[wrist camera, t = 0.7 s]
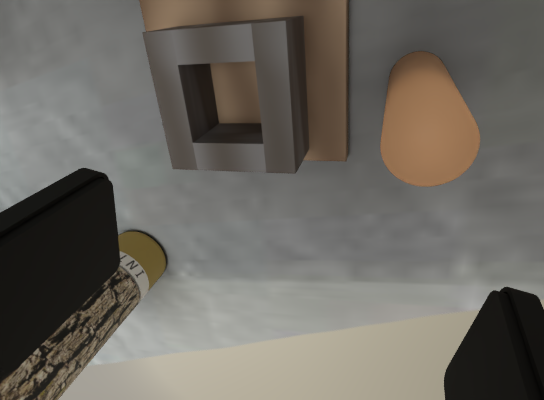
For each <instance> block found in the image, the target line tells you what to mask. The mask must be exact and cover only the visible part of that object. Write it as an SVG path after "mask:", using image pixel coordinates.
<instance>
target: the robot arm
mask: <svg viewBox="0 0 544 400" xmlns="http://www.w3.org/2000/svg"><path fill="white" fill-rule="evenodd" d="M119 265H120V250H119V241H118V231H117V221H116V212H115V202H114V193H113V185H112V183H111V181H109V179H108V177H107V175H106V174H104V173H101V172H98V171H94V170H91V169H87V168H81V169H78V170H77V171H75V172H73V173H71V174H69V175H68V176H66V177H64V178H62V179H60V180H59V181H57V182H55V183H53V184H51V185H50V186H48V187H46V188H44V189H42V190H40V191H39V192H37V193H35V194H33V195H31V196H30V197H28V198H26V199H24V200H22V201H21V202H19V203H17V204H15V205H13V206H12V207H10V208H8V209H6V210H4V211H3V212H1V213H0V379H1V378H2V377H3V376H4V375H5V374H6V373H10V372H12V371H14V370H16V369H17V368H18V367H19V366H20V365H21V364H22V363H23V362H24V361H25V360H26V359H27V358H28V357H30V356H31V355H32V354H33V353H34V352H35V351H36V350H37V349H38V348H39V347H40V346H41V345H42V344H43V343H44V342H45V341H46V340H47V339H48V338H49V337H50V336H51V335H52V334H53V333H54V332H55V331H56V330H57V329H58V328H59V327H60V326H61V325H62V324H63V323H64V322H65V321H66V320H67V319H68V318H70V317H71V316H72V315H73V314H74V313H75V312H76V311H77V310H78V309H79V308H80V307H81V306H82V305H83V304H84V303H85V302H86V301H87V300H88V299H89V298H90V297H91V296H92V295H93V294H94V293H95V292H96V291H97V290H98V289H99V288H100V287H101V286H102V285H103V284H104V283H105V282H106V281H107V280H109V279H110V278H111V277H112V276H113V275H114V274H115V272H116V271H117V270H118V268H119ZM444 390H445V400H544V309H543V307H542V304H541V302H540V300H539V298H538V296H536V295H534V294H531V293H527V292H524V291H520V290H517V289H513V288H509V287H504V288H503V289H501V290H500V292H499V291H492V292H491V293H490V294H489V296H488V297H487V299H486V301H485V303H484V304H483V306H482V308H481V310H480V311H479V313H478V315H477V317H476V319H475V320H474V322H473V324H472V325H471V327H470V329H469V330H468V332H467V334H466V336H465V337H464V339H463V341H462V343H461V344H460V346H459V348H458V350H457V352H456V353H455V355H454V357H453V358H452V360H451V362H450V364H449V365H448V367H447V369H446V372H445V377H444Z"/></svg>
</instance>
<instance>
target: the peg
mask: <svg viewBox="0 0 544 400" xmlns="http://www.w3.org/2000/svg"><path fill="white" fill-rule="evenodd" d="M479 145H480V133H479V129H478V126H477V124H476V121H475V120H474V118H473V116H472V114H471V112H470V111H469V109H468V107H467V105H466V103H465V102H464V100H463V98H462V96H461V95H460V93H459V91H458V89H457V87H456V86H455V84H454V82H453V80H452V78H451V77H450V75H449V73H448V71H447V69H446V68H445V66H444V64H443V62H442V61H441V60H440V59H439V58H438V57H437V56H436V55H434V54H432V53H429V52H424V51H418V52H413V53H410V54H407V55H405V56H404V57H402V58H401V59H400V60H399V61H398V62H397V63H396V64H395V65H394V67H393V68H392V70H391V73H390V76H389V83H388V90H387V98H386V105H385V113H384V120H383V128H382V135H381V144H380V148H381V155H382V158H383V161H384V163H385V165H386V167H387V168H388V169H389V171H390V172H391V173H392V174H393V175H394V176H396V177H397V178H398V179H400V180H402V181H404V182H406V183H409V184H412V185H416V186H437V185H441V184H444V183H447V182H450V181H452V180H454V179H455V178H457V177H459V176H460V175H461V174H463V173H464V172H465V171H466V170H467V169H468V168H469V167H470V165H471V164H472V163H473V161H474V159H475V158H476V155H477V153H478V149H479Z"/></svg>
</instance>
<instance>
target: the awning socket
mask: <svg viewBox="0 0 544 400" xmlns="http://www.w3.org/2000/svg"><path fill="white" fill-rule="evenodd" d="M139 1H140V6H141V10H142V15H143V19H144V24H145V29H146V32H142V33H143V38H144V42H145V47H146V51H147V55H148V60H149V64H150V69H151V73H152V78H153V82H154V87H155V91H156V96H157V100H158V105H159V109H160V114H161V118H162V123H163V127H164V131H165V136H166V140H167V145H168V149H169V154H170V158H171V163H172V167H173V169H186V170H212V171H239V172H265V173H292V174H296V172H297V170H298V168H299V167H300V165H301V163H302V161H303V160H316V161H346V160H347V157H348V85H349V0H139Z"/></svg>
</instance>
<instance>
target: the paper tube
mask: <svg viewBox="0 0 544 400" xmlns="http://www.w3.org/2000/svg"><path fill="white" fill-rule="evenodd" d="M118 241H119V250H120V265H119V268H118V270H117V271H116V272H115V274H114V275H113V276H112V277H111V278H110V279H109V280H107V281H106V282H105V283H104V284H103V285H102V286H101V287H100V288H99V289H98V290H97V291H96V292H95V293H94V294H93V295H92V296H91V297H90V298H89V299H88V300H87V301H86V302H85V303H84V304H83V305H82V306H81V307H80V308H79V309H78V310H77V311H76V312H75V313H74V314H73V315H72V316H71V317H70V318H68V319H67V320H66V321H65V322H64V323H63V324H62V325H61V326H60V327H59V328H58V329H57V330H56V331H55V332H54V333H53V334H52V335H51V336H50V337H49V338H48V339H47V340H46V341H45V342H44V343H43V344H42V345H41V346H40V347H39V348H38V349H37V350H36V351H35V352H34V353H33V354H32V355H31V356H30V357H28V358H27V359H26V360H25V361H24V362H23V363H22V364H21V365H20V366H19V367H18V368H17V369H16V370H14V371H12V372H10V373H6V374H5V375H4V376H3V377H2V378H1V379H0V400H58V399H59V398H60V397H61V396H62V394H63V393H64V392H65V391H66V389H67V388H68V387H69V386H70V385H71V383H72V382H73V381H74V380H75V379H76V378H77V376H78V375H79V374H80V373H81V372H82V370H83V369H84V368H85V367H86V366H87V364H88V363H89V362H90V361H91V360H92V358H93V357H94V356H95V355H96V354H97V352H98V351H99V350H100V349H101V348H102V346H103V345H104V344H105V343H106V342H107V340H108V339H109V338H110V337H111V336H112V334H113V333H114V332H115V331H116V330H117V328H118V327H119V326H120V325H121V324H122V322H123V321H124V320H125V319H126V318H127V316H128V315H129V314H130V313H131V312H132V310H133V309H134V308H135V307H136V305H137V304H138V303H139V302H140V301H141V300H142V298H143V297H144V296H145V295H146V293H147V292H148V291H149V290H150V288H151V287H152V286H153V285H154V284H155V282H156V281H157V280H158V279H159V278H160V276H161V275H162V274H163V272H164V270H165V267H166V259H165V255H164V253H163V251H162V249H161V247H160V246H159V245H158V244H157V243H156V242H155V241H154V240H153V239H152V238H150V237H149V236H147V235H145V234H143V233H140V232H134V231H133V232H124V233H122V234H120V235H119V236H118Z"/></svg>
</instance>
